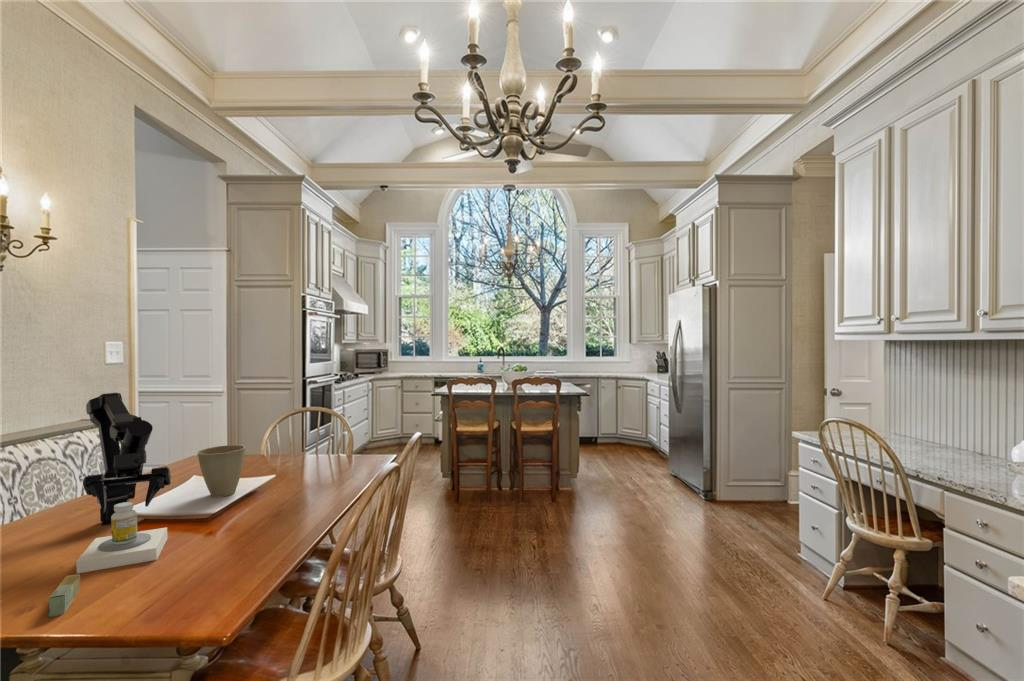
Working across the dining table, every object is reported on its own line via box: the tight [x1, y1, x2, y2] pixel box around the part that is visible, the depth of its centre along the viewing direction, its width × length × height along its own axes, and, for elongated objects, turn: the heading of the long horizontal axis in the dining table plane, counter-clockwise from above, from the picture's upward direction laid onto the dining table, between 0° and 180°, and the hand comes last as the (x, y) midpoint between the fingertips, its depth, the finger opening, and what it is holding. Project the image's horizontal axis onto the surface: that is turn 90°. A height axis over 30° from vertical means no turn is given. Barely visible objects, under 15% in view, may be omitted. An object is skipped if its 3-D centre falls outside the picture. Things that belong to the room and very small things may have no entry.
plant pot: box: [196, 444, 246, 498], centre depth 188 cm, size 15×15×16 cm
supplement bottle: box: [110, 501, 138, 545], centre depth 137 cm, size 5×5×10 cm
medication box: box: [47, 573, 81, 618], centre depth 112 cm, size 12×3×4 cm, turn 27°
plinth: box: [75, 526, 169, 574], centre depth 137 cm, size 16×16×3 cm
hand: (125, 508), depth 138 cm, fingers open, 9 cm apart
